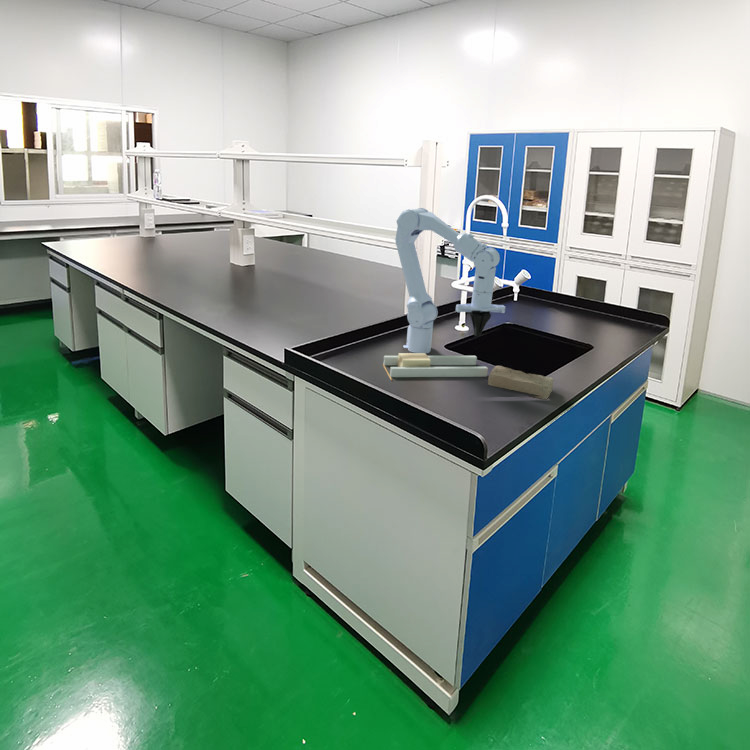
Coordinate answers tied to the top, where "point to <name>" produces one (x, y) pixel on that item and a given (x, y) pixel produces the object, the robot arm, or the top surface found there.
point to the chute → (437, 370)
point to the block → (413, 360)
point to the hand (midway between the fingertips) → (477, 335)
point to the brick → (521, 382)
